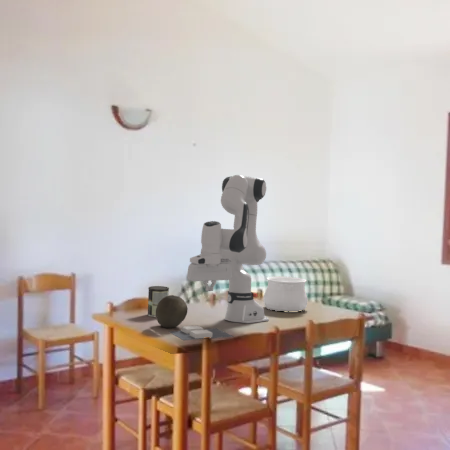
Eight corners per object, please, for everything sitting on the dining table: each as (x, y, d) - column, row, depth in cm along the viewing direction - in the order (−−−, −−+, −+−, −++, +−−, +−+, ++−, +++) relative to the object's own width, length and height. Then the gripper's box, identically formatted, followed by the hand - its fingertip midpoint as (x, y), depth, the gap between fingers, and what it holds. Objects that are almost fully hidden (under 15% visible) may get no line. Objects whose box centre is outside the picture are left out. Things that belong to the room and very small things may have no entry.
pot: (305, 315, 338) (307, 283, 337) (260, 311, 343) (261, 280, 342) (308, 306, 363) (309, 277, 363) (265, 303, 368) (267, 274, 367)
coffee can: (143, 315, 318) (144, 287, 317) (155, 312, 327) (156, 285, 326) (159, 318, 313) (160, 289, 312) (172, 315, 322) (173, 287, 321)
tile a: (197, 325, 287) (181, 326, 283) (203, 328, 282) (187, 329, 278) (197, 330, 287) (181, 331, 284) (203, 332, 282) (186, 334, 278)
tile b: (206, 329, 279) (189, 330, 275) (212, 332, 274) (195, 333, 270) (206, 334, 279) (189, 335, 276) (212, 337, 274) (195, 338, 270)
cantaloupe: (165, 332, 282) (166, 299, 281) (149, 326, 294) (151, 294, 293) (192, 329, 290) (193, 297, 290) (175, 323, 302) (177, 292, 301)
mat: (216, 329, 293) (216, 328, 293) (233, 337, 278) (233, 336, 278) (168, 332, 282) (168, 331, 282) (183, 341, 267) (183, 340, 267)
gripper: (228, 257, 282) (227, 288, 283) (186, 258, 273) (185, 290, 273) (235, 259, 276) (233, 290, 277) (192, 260, 267) (191, 292, 268)
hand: (209, 290), depth 275 cm, fingers closed
